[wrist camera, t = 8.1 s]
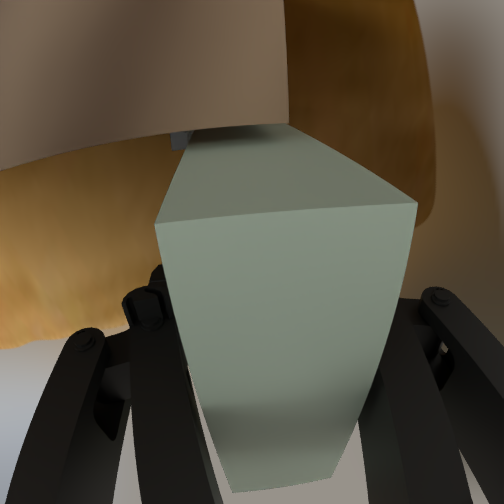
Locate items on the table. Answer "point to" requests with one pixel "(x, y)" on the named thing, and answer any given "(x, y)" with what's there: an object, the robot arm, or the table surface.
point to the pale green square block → (281, 293)
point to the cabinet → (135, 70)
